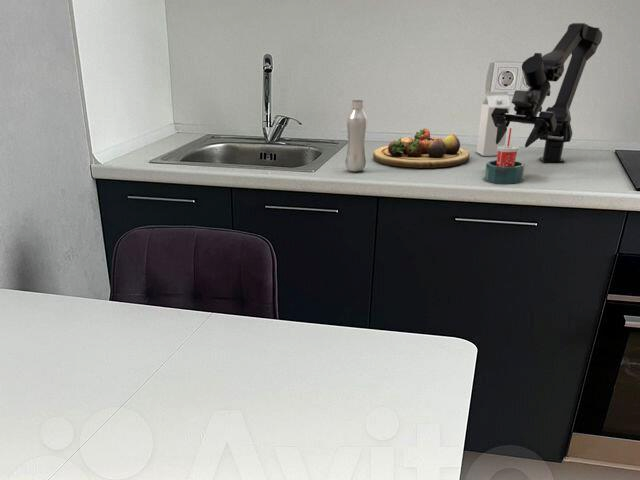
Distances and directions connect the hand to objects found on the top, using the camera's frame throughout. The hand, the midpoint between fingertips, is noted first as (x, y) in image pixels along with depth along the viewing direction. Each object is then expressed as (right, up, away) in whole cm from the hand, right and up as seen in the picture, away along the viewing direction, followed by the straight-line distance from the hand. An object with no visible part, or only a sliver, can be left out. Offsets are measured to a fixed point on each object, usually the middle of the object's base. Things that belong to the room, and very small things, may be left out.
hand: (510, 144), depth 213 cm
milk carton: (+4, +13, +36) cm, 39 cm away
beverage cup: (-1, -9, +4) cm, 10 cm away
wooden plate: (-20, +9, +31) cm, 39 cm away
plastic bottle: (-44, 0, +18) cm, 48 cm away
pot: (-1, -9, +4) cm, 9 cm away
